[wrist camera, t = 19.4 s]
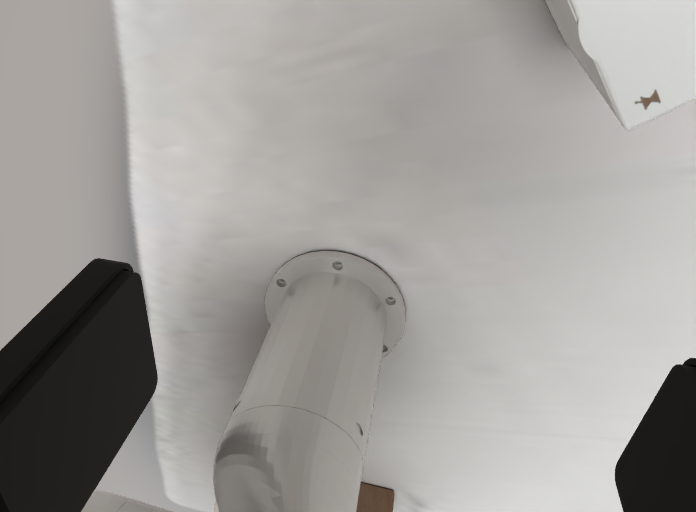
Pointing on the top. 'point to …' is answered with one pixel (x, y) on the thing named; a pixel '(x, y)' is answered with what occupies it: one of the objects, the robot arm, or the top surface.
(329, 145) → the top surface
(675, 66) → the skincare box
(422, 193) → the top surface
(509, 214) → the top surface
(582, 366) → the top surface
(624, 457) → the robot arm
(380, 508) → the wooden block
